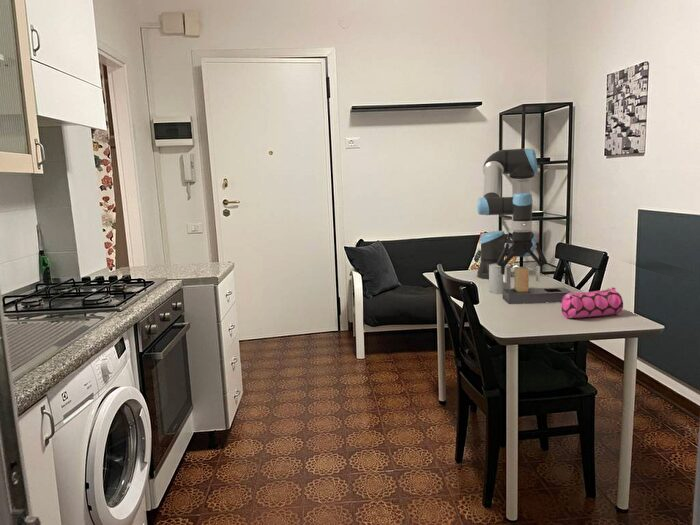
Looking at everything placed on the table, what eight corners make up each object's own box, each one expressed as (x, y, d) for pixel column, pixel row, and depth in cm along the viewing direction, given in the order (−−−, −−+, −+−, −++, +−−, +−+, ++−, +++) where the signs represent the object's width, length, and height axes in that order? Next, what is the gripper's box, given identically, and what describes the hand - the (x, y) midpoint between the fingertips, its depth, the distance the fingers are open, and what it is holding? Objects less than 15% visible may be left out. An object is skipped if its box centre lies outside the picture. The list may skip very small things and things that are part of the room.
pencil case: (605, 309, 205) (606, 284, 203) (624, 316, 196) (625, 289, 194) (557, 315, 199) (558, 289, 198) (575, 322, 190) (575, 295, 189)
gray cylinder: (488, 294, 238) (489, 266, 236) (488, 289, 247) (488, 263, 245) (511, 294, 236) (511, 266, 234) (510, 289, 245) (510, 263, 243)
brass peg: (514, 299, 226) (514, 267, 224) (525, 299, 226) (525, 266, 224) (517, 302, 222) (517, 269, 219) (528, 301, 221) (528, 268, 219)
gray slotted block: (502, 298, 229) (502, 289, 228) (563, 296, 228) (564, 287, 227) (508, 304, 219) (508, 294, 218) (572, 302, 218) (573, 292, 218)
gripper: (493, 233, 216) (493, 284, 219) (556, 230, 215) (554, 282, 218) (489, 231, 223) (489, 280, 227) (549, 228, 222) (548, 278, 226)
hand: (521, 281), depth 223 cm, fingers open, 13 cm apart
